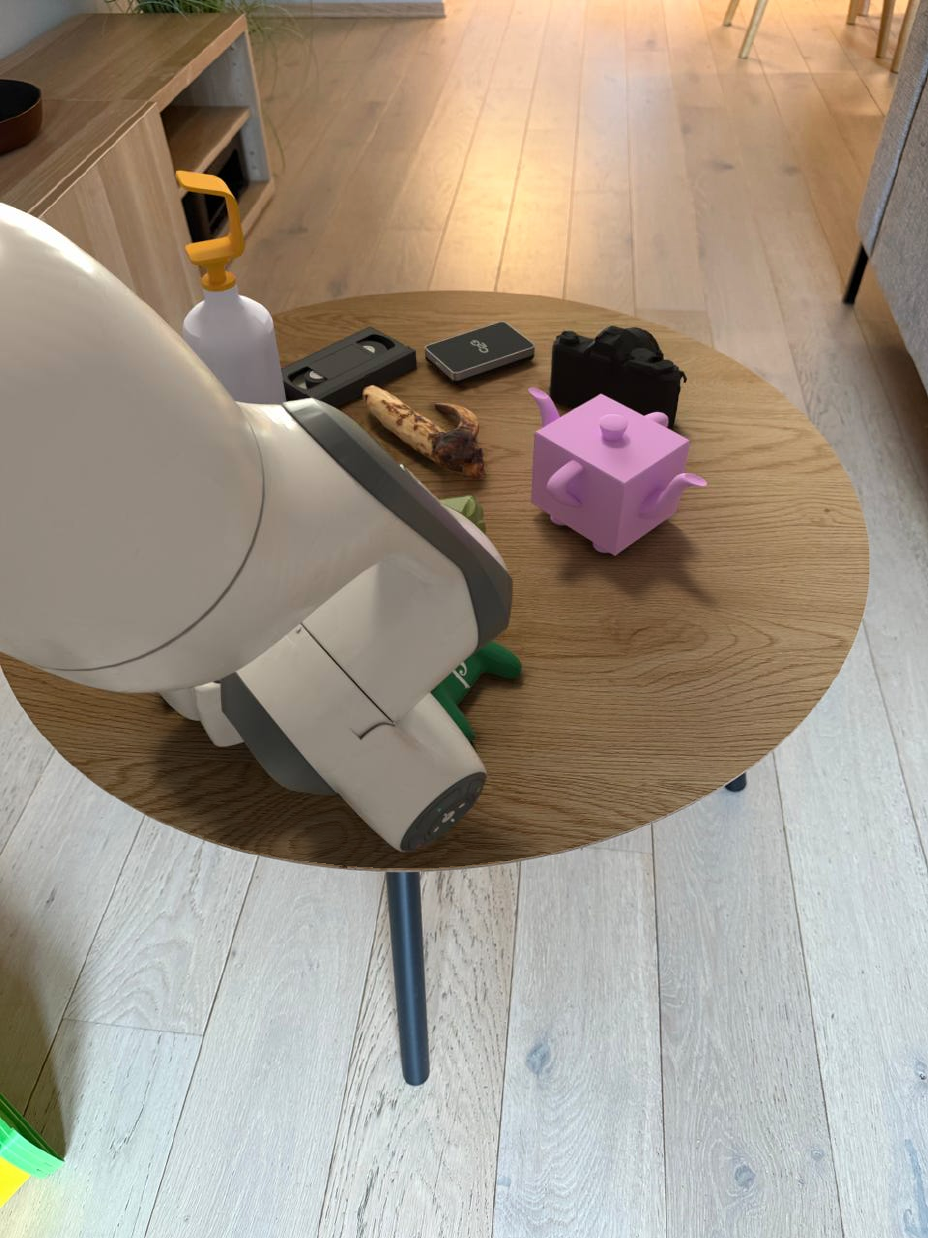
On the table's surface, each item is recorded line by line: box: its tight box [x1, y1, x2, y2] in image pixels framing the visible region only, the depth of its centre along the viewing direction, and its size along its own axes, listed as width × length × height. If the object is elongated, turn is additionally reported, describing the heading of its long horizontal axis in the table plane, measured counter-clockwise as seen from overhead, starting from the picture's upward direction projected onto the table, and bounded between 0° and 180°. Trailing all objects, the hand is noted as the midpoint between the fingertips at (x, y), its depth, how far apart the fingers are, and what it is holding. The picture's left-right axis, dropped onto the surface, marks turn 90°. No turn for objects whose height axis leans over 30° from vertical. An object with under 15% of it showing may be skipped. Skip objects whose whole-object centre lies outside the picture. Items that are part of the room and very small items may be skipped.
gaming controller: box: [430, 640, 523, 743], centre depth 73 cm, size 9×4×6 cm
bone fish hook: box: [362, 385, 486, 481], centre depth 96 cm, size 9×5×18 cm
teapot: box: [528, 387, 708, 556], centre depth 85 cm, size 15×13×11 cm
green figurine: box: [437, 494, 487, 536], centre depth 79 cm, size 6×5×10 cm
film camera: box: [548, 325, 688, 431], centre depth 99 cm, size 15×10×9 cm, turn 56°
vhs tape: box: [281, 326, 418, 409], centre depth 106 cm, size 14×8×2 cm, turn 135°
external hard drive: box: [424, 321, 536, 386], centre depth 107 cm, size 7×11×2 cm, turn 122°
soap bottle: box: [174, 170, 287, 405], centre depth 93 cm, size 9×9×25 cm
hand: (227, 558), depth 75 cm, fingers open, 8 cm apart
